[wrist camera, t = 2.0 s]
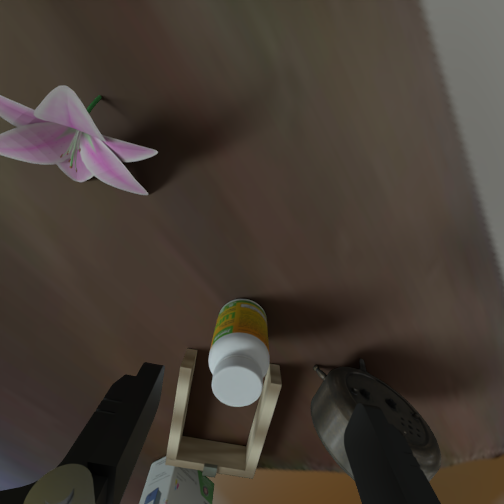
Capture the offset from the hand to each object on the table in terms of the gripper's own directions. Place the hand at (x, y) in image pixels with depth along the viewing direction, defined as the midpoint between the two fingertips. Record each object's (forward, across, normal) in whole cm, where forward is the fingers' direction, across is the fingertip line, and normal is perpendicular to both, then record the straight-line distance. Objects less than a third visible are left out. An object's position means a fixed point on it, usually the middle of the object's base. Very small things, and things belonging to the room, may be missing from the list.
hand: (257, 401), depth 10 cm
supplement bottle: (+18, 0, +8) cm, 20 cm away
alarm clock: (+18, -14, +12) cm, 26 cm away
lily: (+18, +16, -7) cm, 25 cm away
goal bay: (+18, 0, +21) cm, 28 cm away
